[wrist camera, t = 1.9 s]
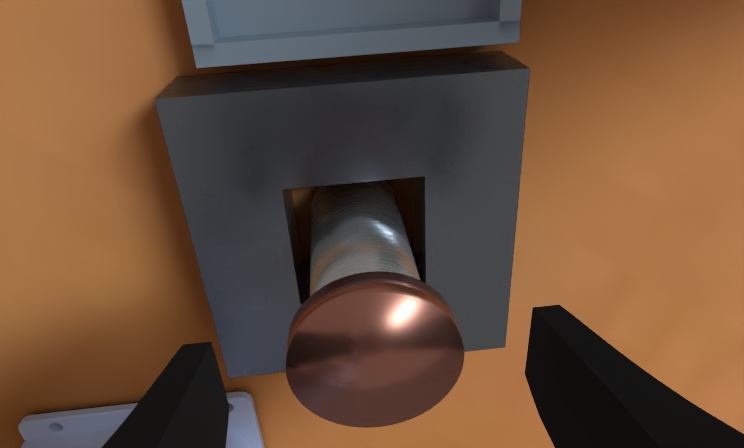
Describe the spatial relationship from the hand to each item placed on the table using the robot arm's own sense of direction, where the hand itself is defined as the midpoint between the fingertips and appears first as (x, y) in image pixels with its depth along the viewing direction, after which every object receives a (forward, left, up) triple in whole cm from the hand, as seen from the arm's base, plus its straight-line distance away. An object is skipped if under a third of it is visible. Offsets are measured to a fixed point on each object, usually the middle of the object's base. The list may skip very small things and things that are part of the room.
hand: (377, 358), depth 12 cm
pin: (0, 0, -8) cm, 8 cm away
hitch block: (0, 0, -8) cm, 8 cm away
